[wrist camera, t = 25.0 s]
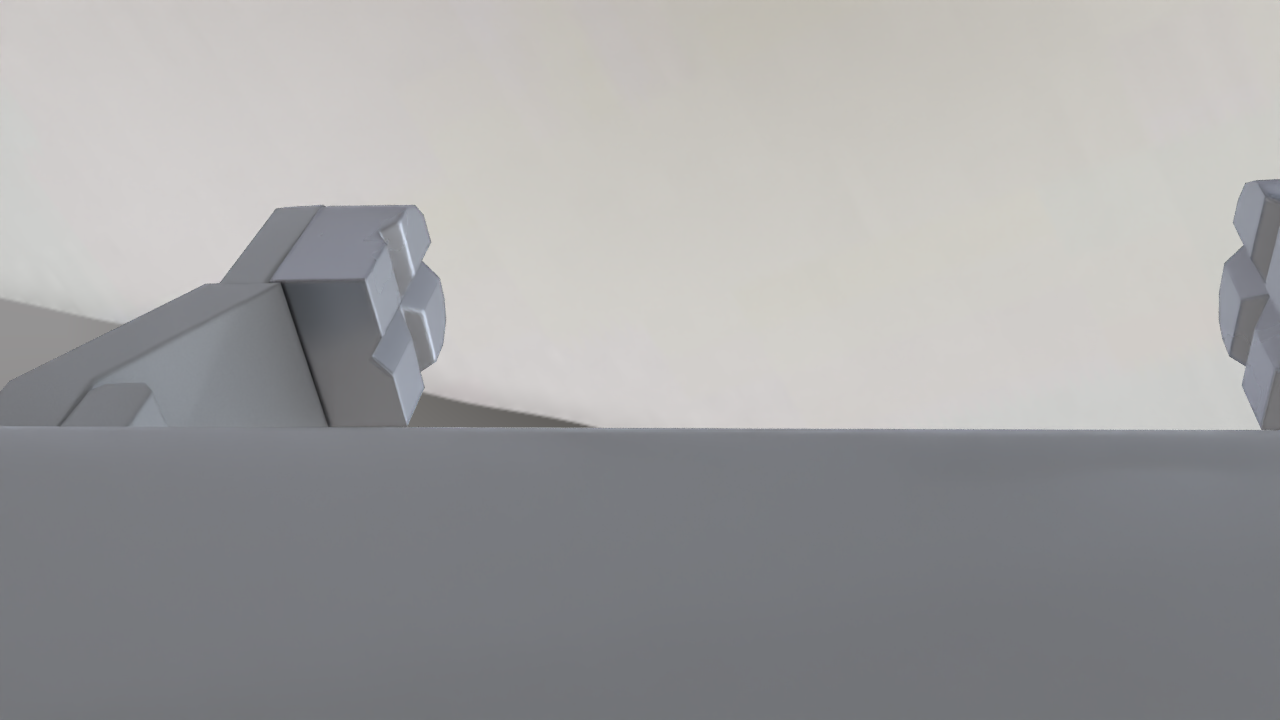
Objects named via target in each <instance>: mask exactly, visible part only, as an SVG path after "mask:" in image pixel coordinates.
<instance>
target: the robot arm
mask: <svg viewBox="0 0 1280 720" xmlns="http://www.w3.org/2000/svg"><path fill="white" fill-rule="evenodd" d="M1233 224H1234V226H1235V228H1236V230H1237V232H1238V234H1239V236H1240V239H1241V241H1242V243H1243V246H1242V247H1241V248H1240V249H1239V250H1238V251H1237V252H1236V253H1235V254H1234V255H1233V256H1231V257H1230V258H1229V259H1228V260H1227V261H1226V262H1225V263H1224V268H1223V273H1222V279H1221V285H1220V290H1219V324H1220V329H1221V334H1222V339H1223V342H1224V344H1225V347H1226V349H1227V352H1228V354H1229V356H1230V357H1231V358H1233V359H1235V360H1236V361H1238V362H1240V363H1241V364H1243V365H1244V366H1246V368H1245V373H1244V377H1243V382H1242V387H1243V389H1244V392H1245V394H1246V396H1247V398H1248V401H1249V403H1250V405H1251V407H1252V410H1253V412H1254V414H1255V416H1256V419H1257V421H1258V423H1259V425H1260V428H1261V430H1044V429H740V428H464V427H463V428H462V427H461V428H460V427H459V428H458V427H454V428H453V427H449V428H448V427H434V428H433V427H407V425H408V423H409V421H410V419H411V417H412V414H413V412H414V410H415V408H416V406H417V403H418V401H419V399H420V397H421V394H422V392H423V390H424V388H425V387H424V383H423V379H422V375H421V371H423V370H424V369H426V368H427V367H429V366H430V365H432V364H433V363H435V362H436V361H437V358H438V356H439V353H440V351H441V349H442V346H443V342H444V334H445V325H446V311H445V299H444V294H443V290H442V285H441V281H440V278H439V277H438V276H437V275H436V274H435V273H434V272H433V271H432V270H431V269H430V268H429V267H428V266H427V265H426V264H425V263H424V262H423V261H422V259H423V257H424V255H425V253H426V251H427V249H428V248H429V246H430V244H431V240H430V236H429V233H428V229H427V225H426V222H425V218H424V215H423V214H422V212H421V211H420V210H419V209H418V208H417V206H416V205H363V206H327V207H326V206H324V205H313V206H297V207H284V208H277V209H275V211H274V212H273V213H272V215H271V216H270V217H269V219H268V220H267V221H266V223H265V224H264V225H263V227H262V228H261V229H260V231H259V232H258V233H257V235H256V236H255V237H254V238H253V240H252V241H251V242H250V244H249V245H248V246H247V248H246V249H245V250H244V252H243V253H242V254H241V256H240V257H239V258H238V260H237V261H236V262H235V264H234V265H233V266H232V267H231V269H230V270H229V271H228V273H227V274H226V275H225V277H224V278H223V279H222V281H221V282H220V283H217V284H204V285H202V286H200V287H198V288H196V289H194V290H192V291H190V292H188V293H186V294H184V295H182V296H180V297H178V298H176V299H174V300H172V301H170V302H168V303H166V304H164V305H162V306H160V307H158V308H156V309H154V310H152V311H150V312H148V313H146V314H144V315H142V316H140V317H138V318H136V319H134V320H132V321H130V322H128V323H126V324H124V325H122V326H120V327H118V328H116V329H113V330H111V331H109V332H107V333H105V334H104V335H101V336H99V337H97V338H95V339H93V340H91V341H89V342H87V343H85V344H83V345H81V346H79V347H77V348H75V349H73V350H71V351H69V352H67V353H65V354H63V355H61V356H59V357H57V358H55V359H53V360H51V361H49V362H47V363H45V364H43V365H41V366H39V367H37V368H35V369H33V370H31V371H29V372H27V373H25V374H23V375H21V376H19V377H16V378H15V379H13V380H11V381H9V382H8V383H7V385H6V386H5V387H4V388H3V389H2V390H1V391H0V720H1280V179H1273V180H1256V181H1252V182H1248V183H1245V185H1244V187H1243V189H1242V192H1241V194H1240V196H1239V199H1238V202H1237V207H1236V211H1235V215H1234V220H1233Z"/></svg>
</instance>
